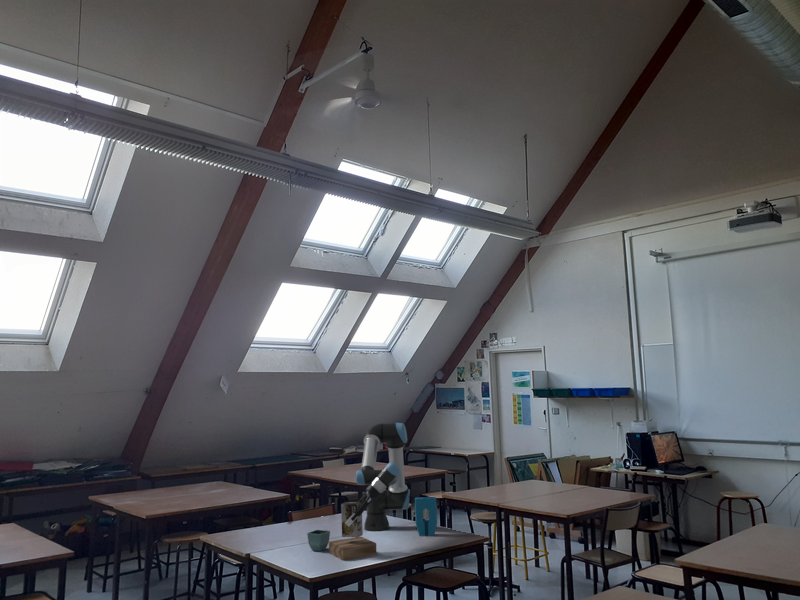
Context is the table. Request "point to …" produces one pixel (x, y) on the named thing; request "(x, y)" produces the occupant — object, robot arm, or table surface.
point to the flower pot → (318, 539)
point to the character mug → (423, 514)
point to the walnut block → (352, 548)
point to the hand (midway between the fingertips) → (345, 523)
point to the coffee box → (356, 526)
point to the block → (429, 525)
